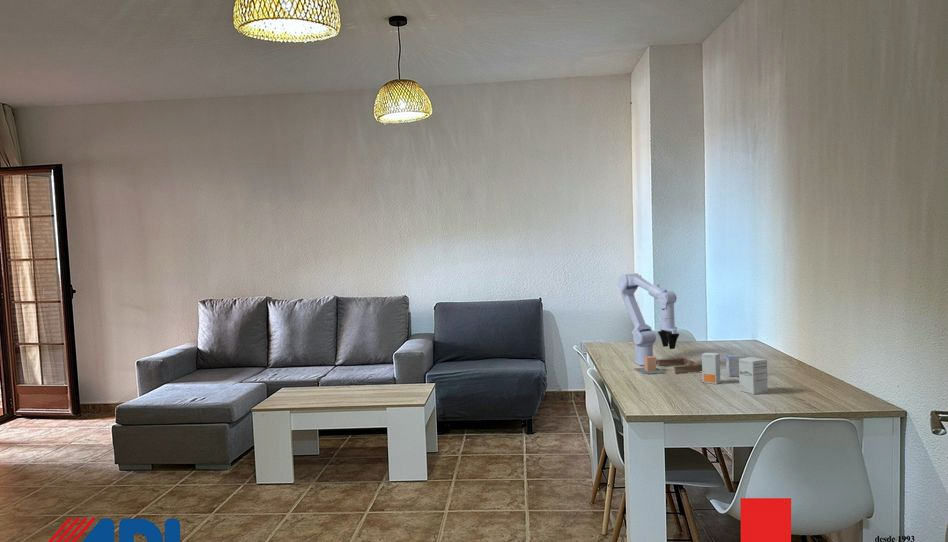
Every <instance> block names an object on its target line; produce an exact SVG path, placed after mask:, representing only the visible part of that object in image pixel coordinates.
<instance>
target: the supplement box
mask: <svg viewBox="0 0 948 542" xmlns="http://www.w3.org/2000/svg"><path fill="white" fill-rule="evenodd" d="M747 357H748V358H741V359H739V380H738V381H739V391H740V392H744V393H747V394H752V395H759V394H765V393H768V388H769V387H768V359H765V358H759V357H754V356H747Z"/></svg>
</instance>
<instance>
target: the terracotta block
mask: <svg viewBox="0 0 948 542" xmlns="http://www.w3.org/2000/svg"><path fill="white" fill-rule="evenodd" d="M643 368H644V370H646V371H656V368H657V357H656V356H654V355H653V356H644V365H643Z"/></svg>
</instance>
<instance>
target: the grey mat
mask: <svg viewBox="0 0 948 542" xmlns="http://www.w3.org/2000/svg"><path fill="white" fill-rule="evenodd" d="M634 369H635V370H634ZM633 370H634V371H636V370H637V371H636V372H638V371H639V372H638V373H640V372H641V374H642V373H643V374H642V375H644V374H648V375H655V374H654V373H662V374H666V373H665V372H666V371H665V370H662V369H660V368H658V367H656V371H646V370H644V367H636V368H633Z"/></svg>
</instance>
